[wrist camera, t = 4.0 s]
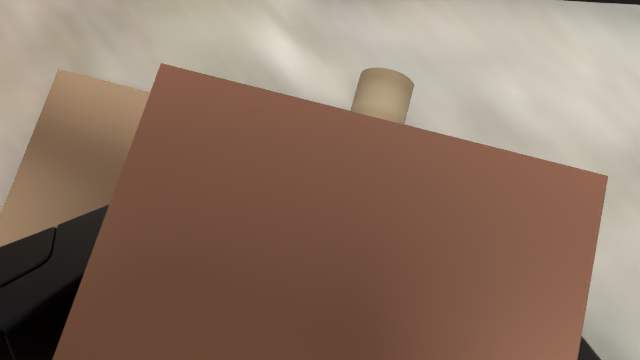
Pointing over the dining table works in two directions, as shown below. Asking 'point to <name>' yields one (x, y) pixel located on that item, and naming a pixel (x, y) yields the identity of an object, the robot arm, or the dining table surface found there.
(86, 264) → the robot arm
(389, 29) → the dining table surface
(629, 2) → the binder
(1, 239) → the board
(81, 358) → the wooden block with peg
